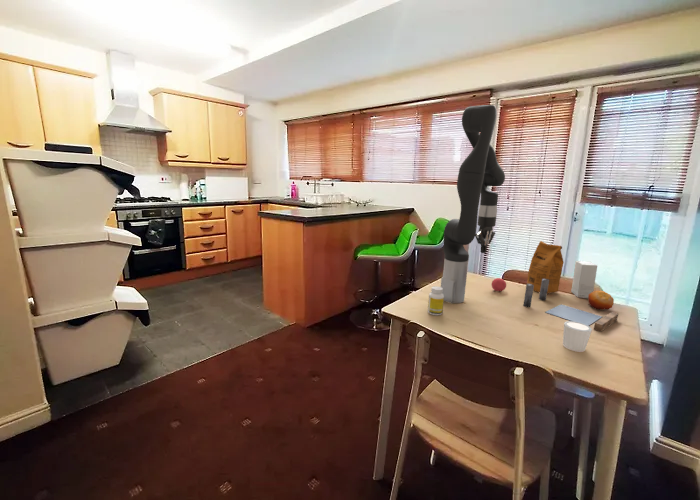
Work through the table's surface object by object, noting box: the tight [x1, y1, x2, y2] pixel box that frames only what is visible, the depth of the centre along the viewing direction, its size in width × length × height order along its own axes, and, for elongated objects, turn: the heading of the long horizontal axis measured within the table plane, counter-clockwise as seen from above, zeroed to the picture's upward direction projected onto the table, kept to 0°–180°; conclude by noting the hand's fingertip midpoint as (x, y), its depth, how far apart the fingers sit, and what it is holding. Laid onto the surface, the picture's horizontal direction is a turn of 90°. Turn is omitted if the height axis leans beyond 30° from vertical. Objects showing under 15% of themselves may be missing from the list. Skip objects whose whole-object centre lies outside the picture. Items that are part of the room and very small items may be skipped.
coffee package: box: [526, 240, 564, 295], centre depth 145 cm, size 10×12×22 cm
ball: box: [491, 277, 507, 292], centre depth 144 cm, size 6×6×6 cm
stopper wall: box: [593, 311, 619, 332], centre depth 113 cm, size 16×2×2 cm, turn 126°
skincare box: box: [570, 260, 598, 299], centre depth 140 cm, size 8×6×15 cm
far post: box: [538, 278, 549, 302], centre depth 135 cm, size 3×3×9 cm
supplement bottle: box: [427, 286, 445, 316], centre depth 119 cm, size 5×5×10 cm
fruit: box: [587, 290, 615, 311], centre depth 127 cm, size 8×8×8 cm
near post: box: [522, 283, 534, 308], centre depth 127 cm, size 3×3×9 cm
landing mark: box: [544, 303, 603, 327], centre depth 121 cm, size 14×14×1 cm
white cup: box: [562, 320, 593, 353], centre depth 97 cm, size 7×7×7 cm
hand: (483, 252), depth 148 cm, fingers closed
